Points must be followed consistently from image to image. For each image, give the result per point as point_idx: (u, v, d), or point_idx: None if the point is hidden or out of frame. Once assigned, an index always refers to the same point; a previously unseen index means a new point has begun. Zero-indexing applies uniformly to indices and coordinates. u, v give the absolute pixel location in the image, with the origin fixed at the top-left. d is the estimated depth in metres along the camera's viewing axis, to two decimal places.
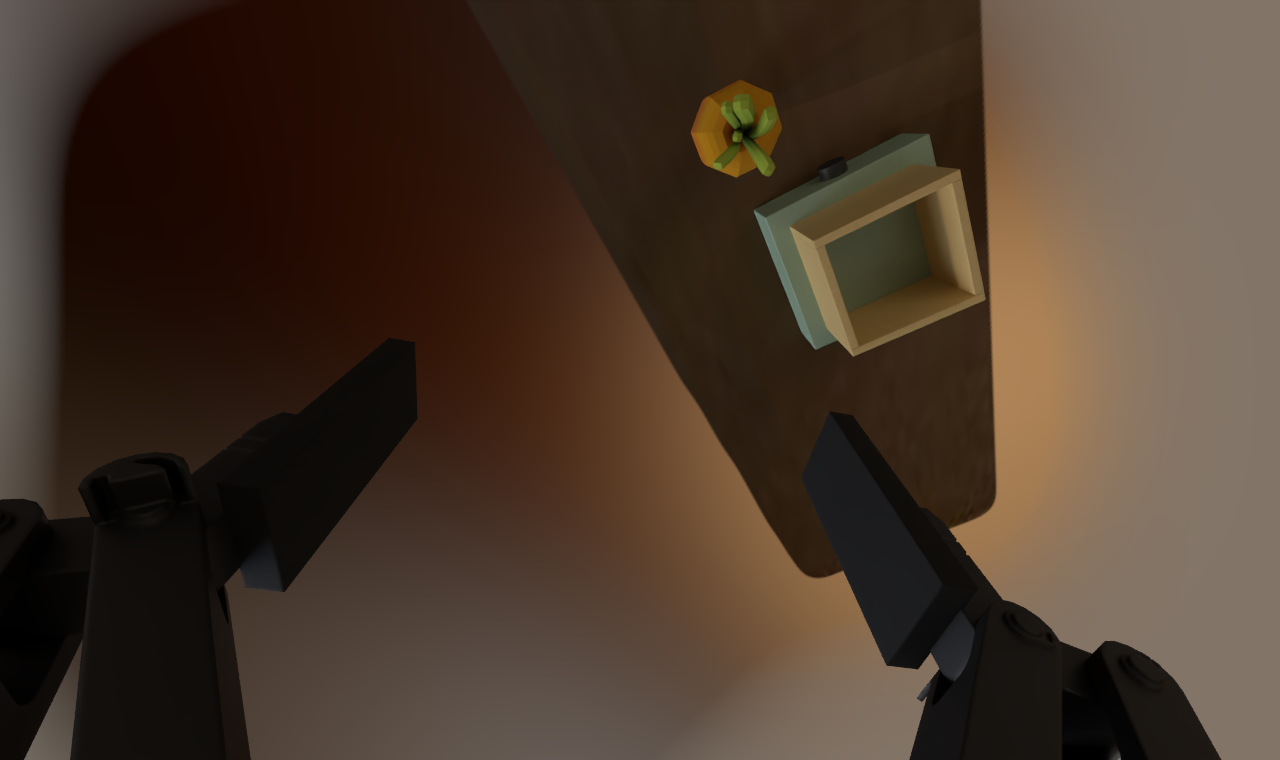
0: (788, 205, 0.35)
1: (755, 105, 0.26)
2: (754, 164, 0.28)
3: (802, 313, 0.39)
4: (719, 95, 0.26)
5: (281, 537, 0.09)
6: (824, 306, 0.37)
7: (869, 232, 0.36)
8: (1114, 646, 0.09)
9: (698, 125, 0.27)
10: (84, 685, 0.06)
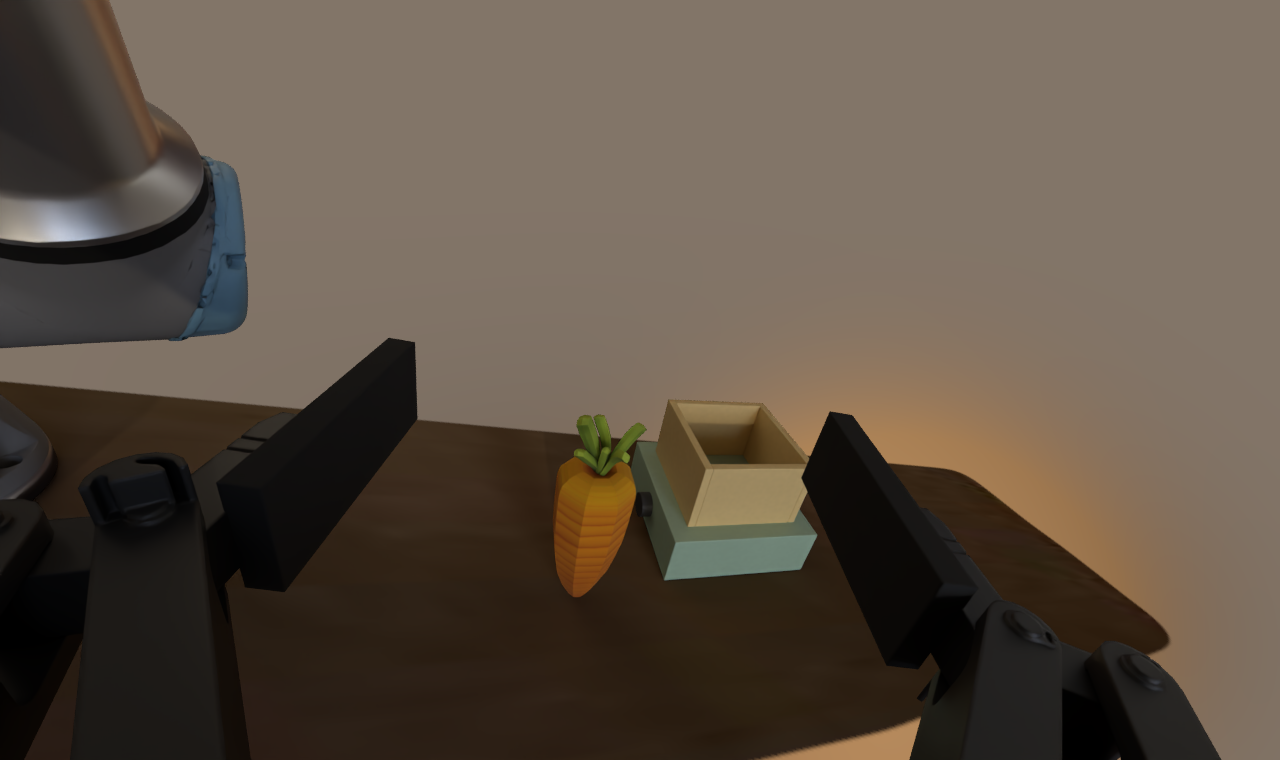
0: (668, 524, 0.36)
1: None
2: (630, 472, 0.29)
3: (777, 537, 0.37)
4: (563, 479, 0.28)
5: (281, 537, 0.09)
6: (769, 504, 0.37)
7: None
8: (1114, 646, 0.09)
9: (579, 504, 0.27)
10: (84, 685, 0.06)
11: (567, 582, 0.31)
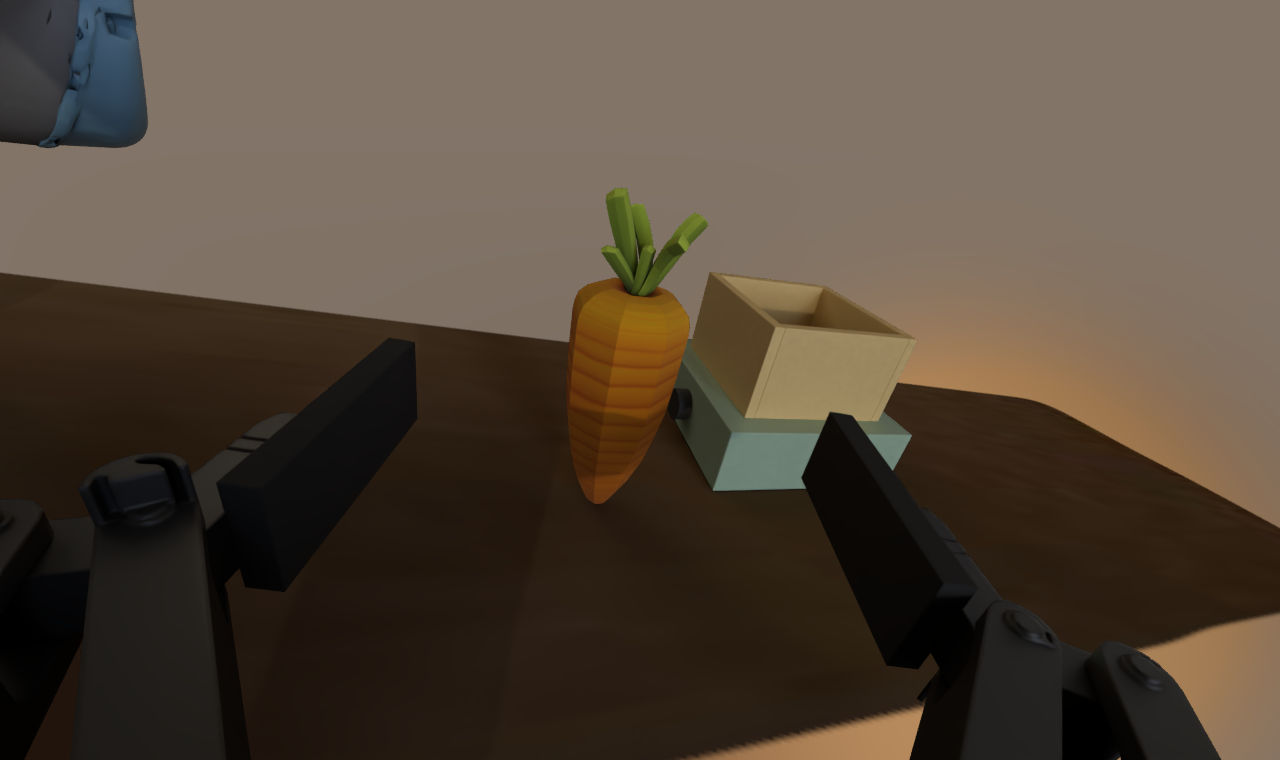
0: (718, 414, 0.27)
1: (612, 278, 0.20)
2: None
3: None
4: (584, 300, 0.19)
5: (281, 537, 0.09)
6: (851, 391, 0.28)
7: None
8: (1114, 646, 0.09)
9: (610, 329, 0.18)
10: (84, 685, 0.06)
11: (586, 474, 0.22)
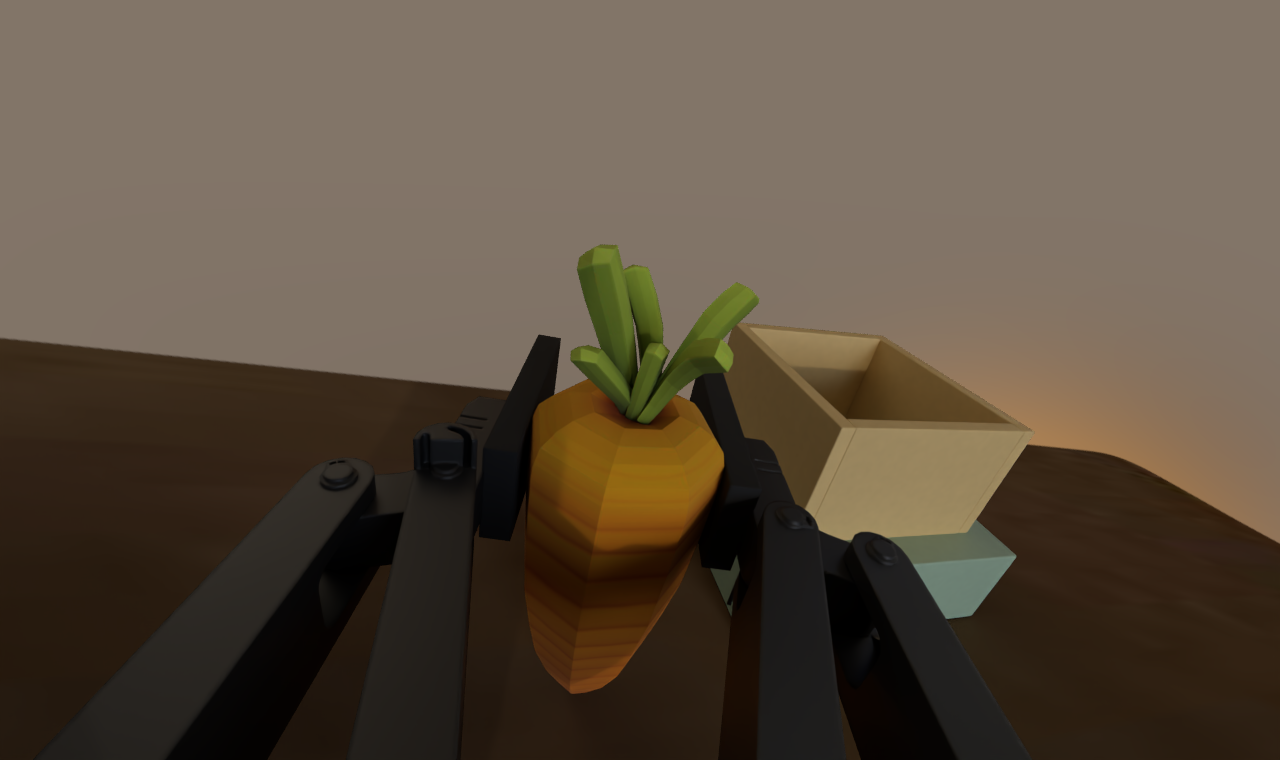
0: None
1: None
2: (705, 422, 0.12)
3: (952, 561, 0.20)
4: (543, 432, 0.11)
5: (515, 495, 0.11)
6: (937, 500, 0.20)
7: None
8: (861, 536, 0.10)
9: (586, 497, 0.10)
10: (388, 592, 0.07)
11: (557, 672, 0.14)
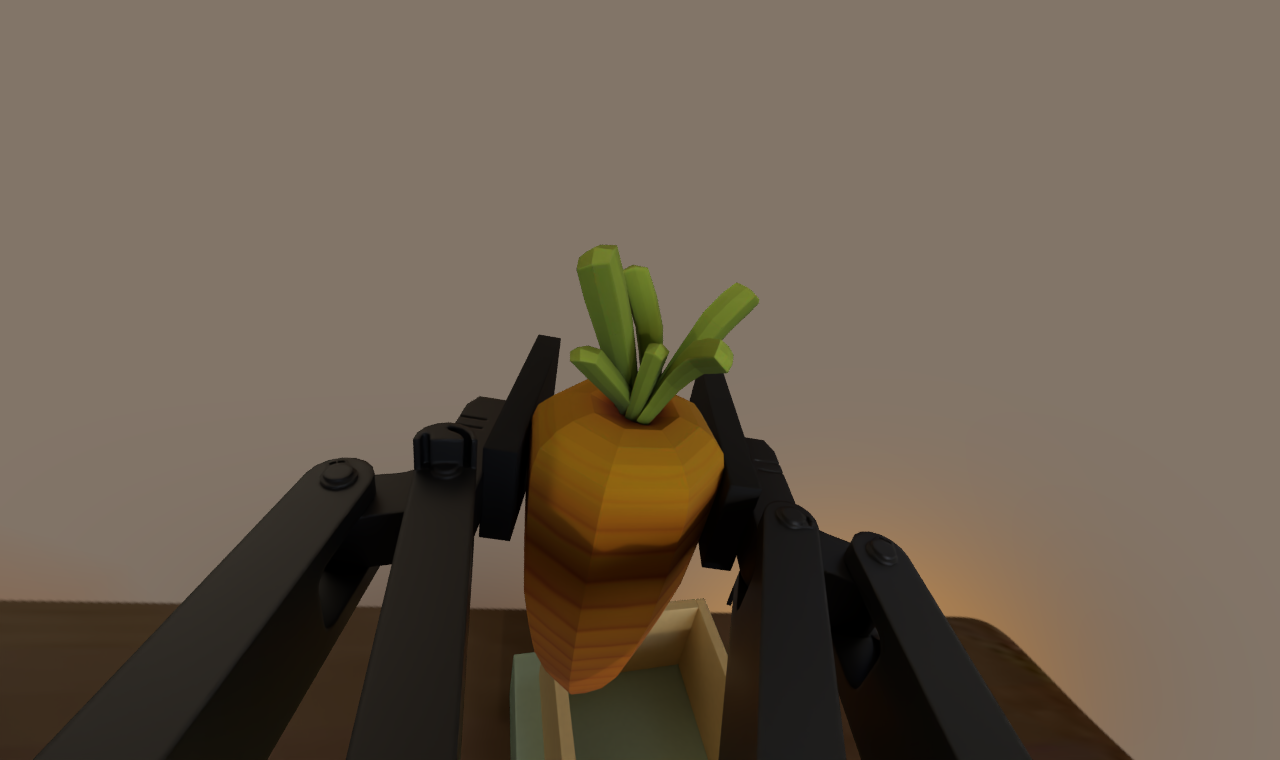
0: None
1: None
2: (705, 422, 0.12)
3: None
4: (543, 433, 0.11)
5: (515, 494, 0.11)
6: None
7: (604, 740, 0.26)
8: (861, 536, 0.10)
9: (586, 497, 0.10)
10: (388, 592, 0.07)
11: (557, 673, 0.14)
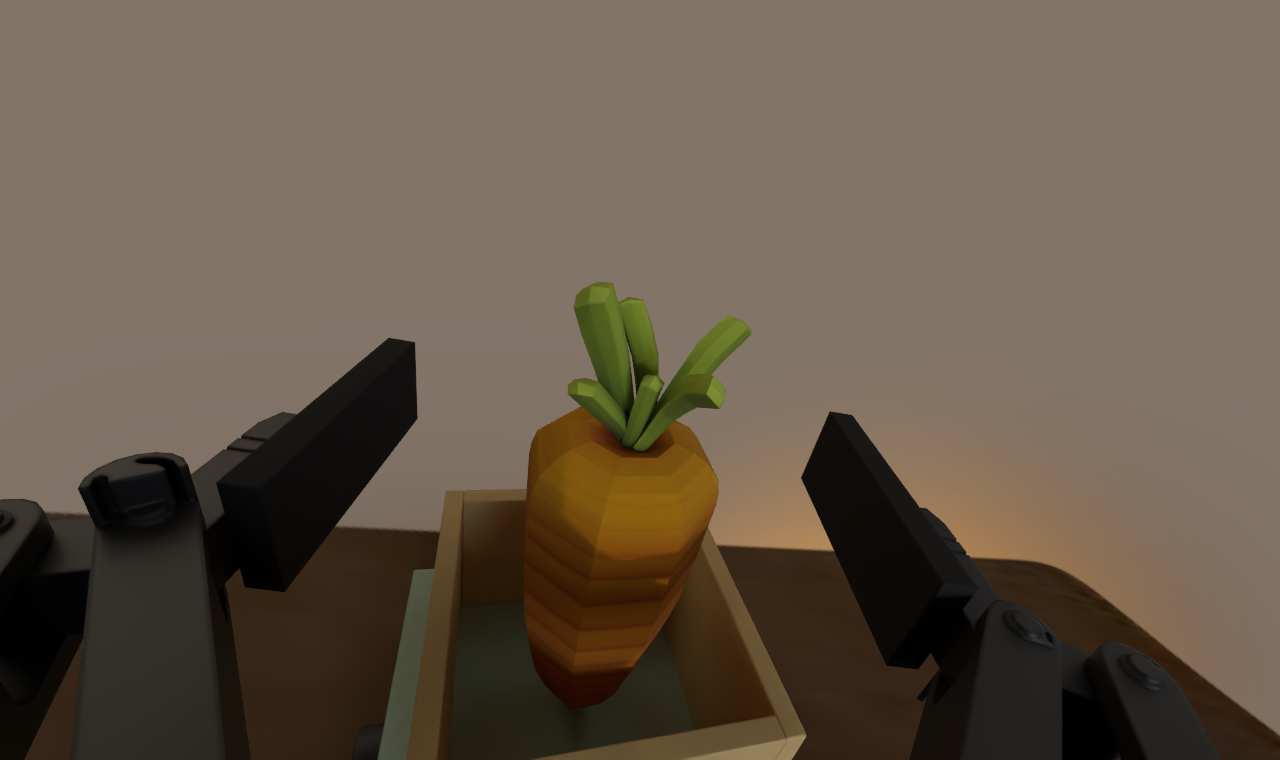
0: None
1: None
2: (700, 447, 0.13)
3: None
4: (542, 460, 0.11)
5: (281, 537, 0.09)
6: None
7: (533, 685, 0.17)
8: (1114, 646, 0.09)
9: (584, 525, 0.10)
10: (84, 685, 0.06)
11: (556, 690, 0.14)
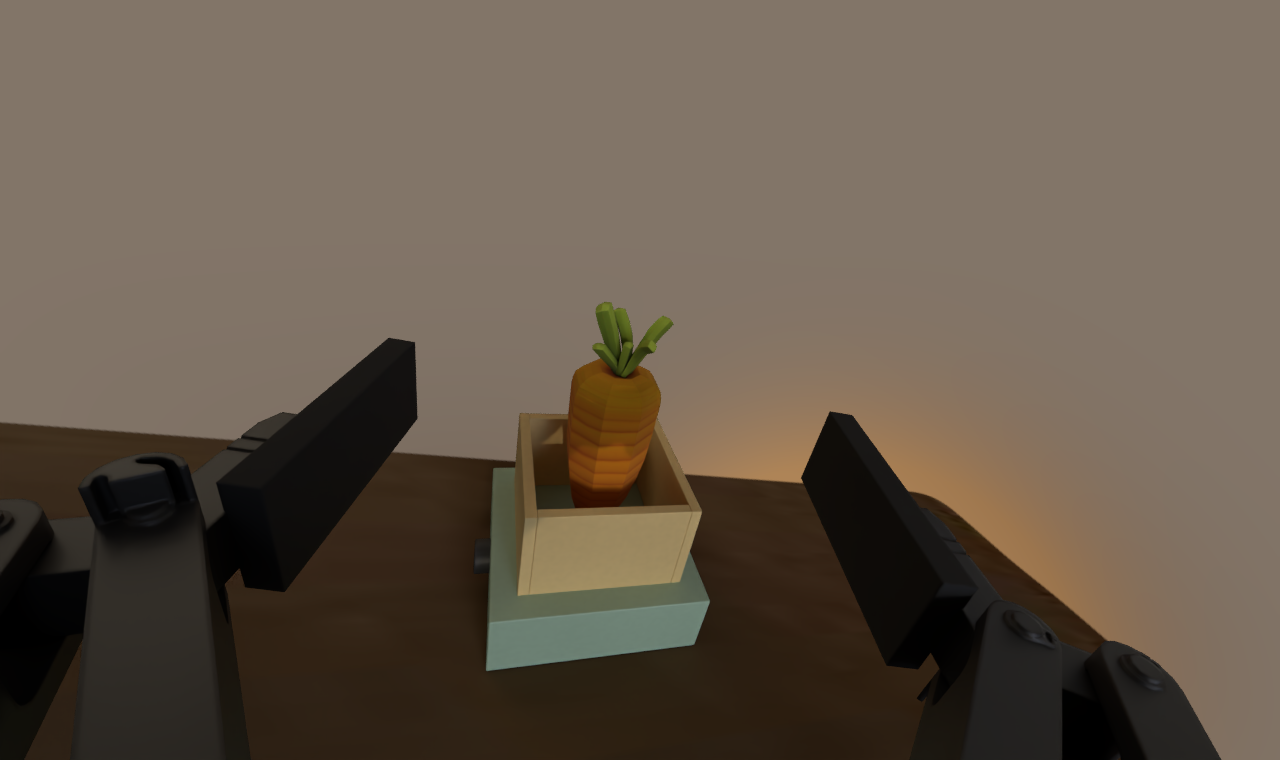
0: (489, 592, 0.25)
1: (601, 360, 0.26)
2: (653, 379, 0.26)
3: (650, 606, 0.26)
4: (580, 380, 0.25)
5: (281, 537, 0.09)
6: (637, 561, 0.26)
7: None
8: (1114, 646, 0.09)
9: (599, 405, 0.24)
10: (84, 685, 0.06)
11: None
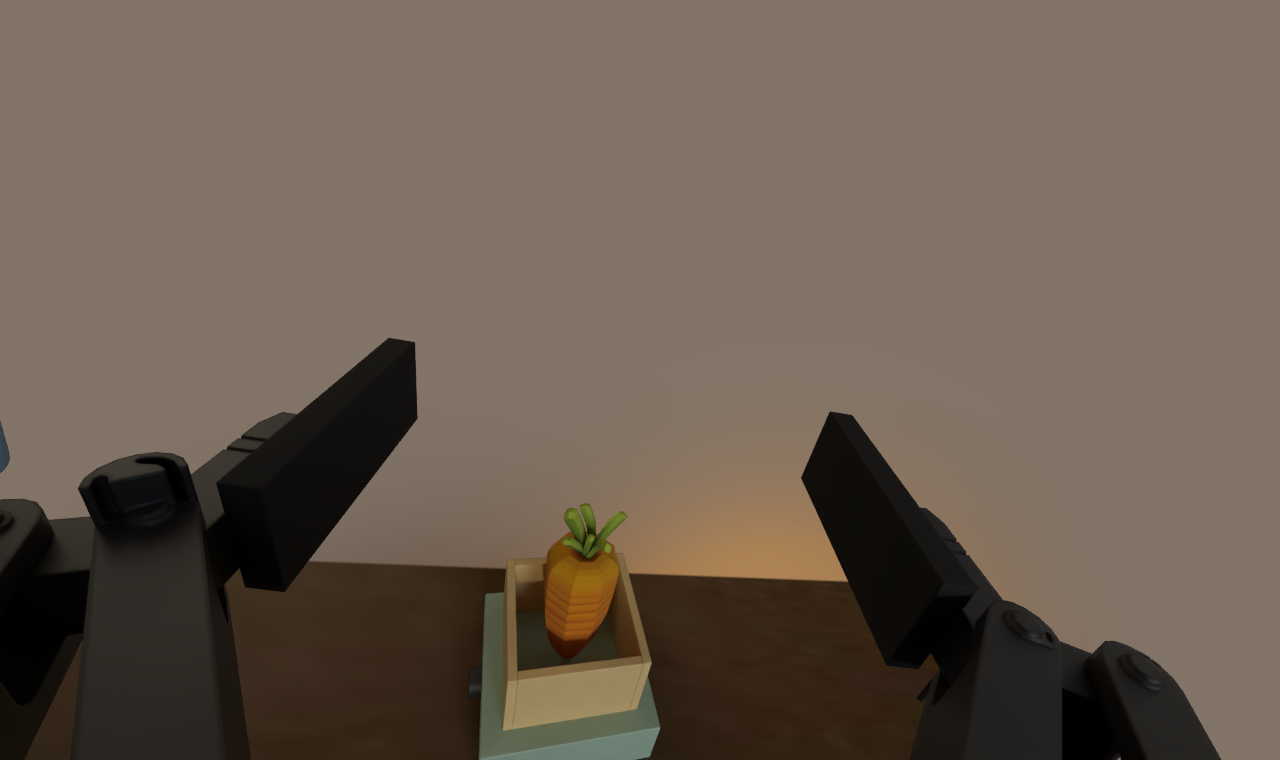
0: (480, 727, 0.32)
1: (571, 538, 0.32)
2: (613, 552, 0.32)
3: (610, 735, 0.33)
4: (552, 562, 0.31)
5: (281, 537, 0.09)
6: (600, 699, 0.33)
7: (546, 649, 0.37)
8: (1114, 646, 0.09)
9: (567, 587, 0.30)
10: (84, 685, 0.06)
11: (557, 648, 0.34)
